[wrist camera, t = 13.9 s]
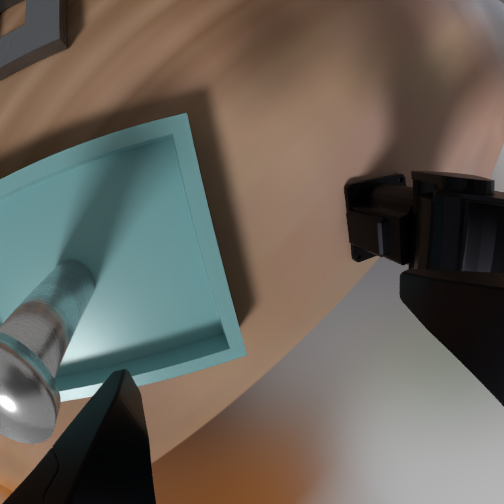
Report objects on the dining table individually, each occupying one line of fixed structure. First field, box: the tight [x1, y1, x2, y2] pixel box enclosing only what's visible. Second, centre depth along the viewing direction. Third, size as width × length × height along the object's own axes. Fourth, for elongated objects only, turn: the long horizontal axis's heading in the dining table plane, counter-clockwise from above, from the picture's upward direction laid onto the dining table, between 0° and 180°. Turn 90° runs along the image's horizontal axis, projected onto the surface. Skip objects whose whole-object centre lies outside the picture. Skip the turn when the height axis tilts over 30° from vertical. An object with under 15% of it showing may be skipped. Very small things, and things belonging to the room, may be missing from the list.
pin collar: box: [0, 0, 68, 81], centre depth 10 cm, size 10×10×2 cm
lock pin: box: [0, 260, 95, 444], centre depth 12 cm, size 4×4×12 cm
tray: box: [0, 113, 247, 402], centre depth 17 cm, size 20×16×3 cm
